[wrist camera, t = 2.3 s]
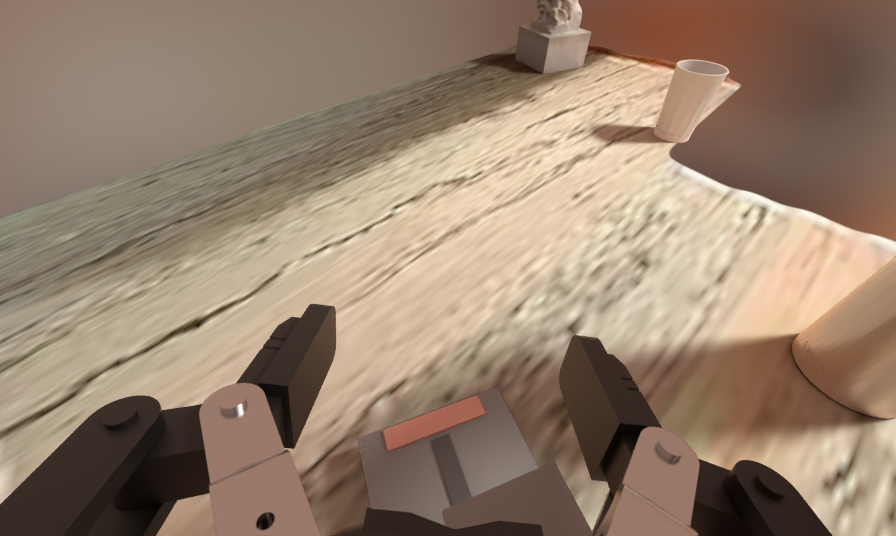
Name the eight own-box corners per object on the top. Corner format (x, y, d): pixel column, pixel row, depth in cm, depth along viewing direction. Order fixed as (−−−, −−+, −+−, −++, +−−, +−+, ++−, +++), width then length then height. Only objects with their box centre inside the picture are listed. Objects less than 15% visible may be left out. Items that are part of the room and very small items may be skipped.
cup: (703, 139, 69) (739, 71, 60) (673, 148, 67) (707, 78, 58) (669, 122, 74) (698, 57, 65) (640, 130, 72) (666, 63, 63)
